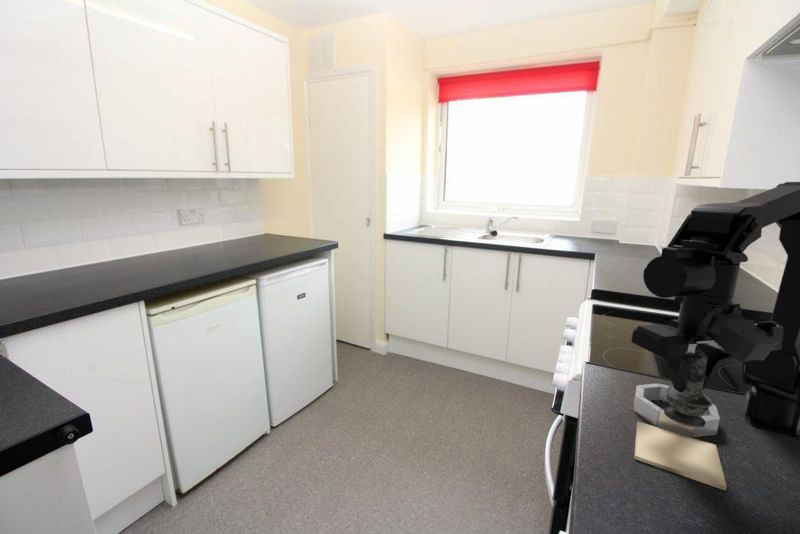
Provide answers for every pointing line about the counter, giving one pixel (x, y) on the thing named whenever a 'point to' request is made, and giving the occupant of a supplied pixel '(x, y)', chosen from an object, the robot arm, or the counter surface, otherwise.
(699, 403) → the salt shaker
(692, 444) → the beige pad
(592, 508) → the counter surface
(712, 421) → the white octagonal ring
